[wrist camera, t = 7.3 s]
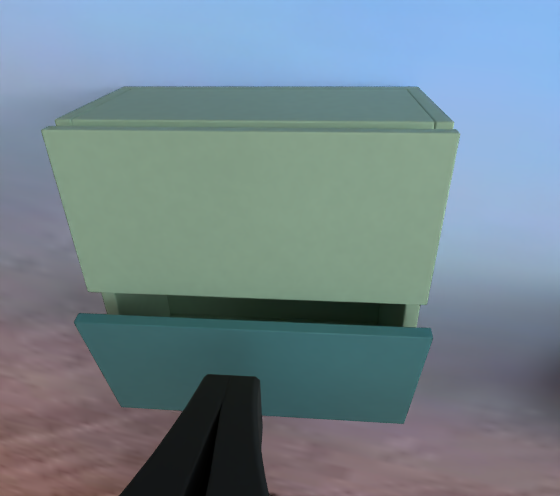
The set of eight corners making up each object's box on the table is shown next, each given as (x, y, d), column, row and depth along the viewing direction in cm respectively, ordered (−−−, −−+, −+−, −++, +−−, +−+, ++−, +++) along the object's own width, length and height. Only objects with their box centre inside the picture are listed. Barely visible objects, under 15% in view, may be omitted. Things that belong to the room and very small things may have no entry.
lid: (402, 414, 17) (404, 424, 16) (124, 398, 17) (120, 407, 17) (430, 327, 13) (433, 338, 13) (78, 312, 14) (72, 322, 13)
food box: (385, 323, 21) (405, 424, 16) (165, 314, 22) (119, 407, 17) (418, 86, 16) (463, 130, 11) (122, 86, 17) (37, 126, 12)
